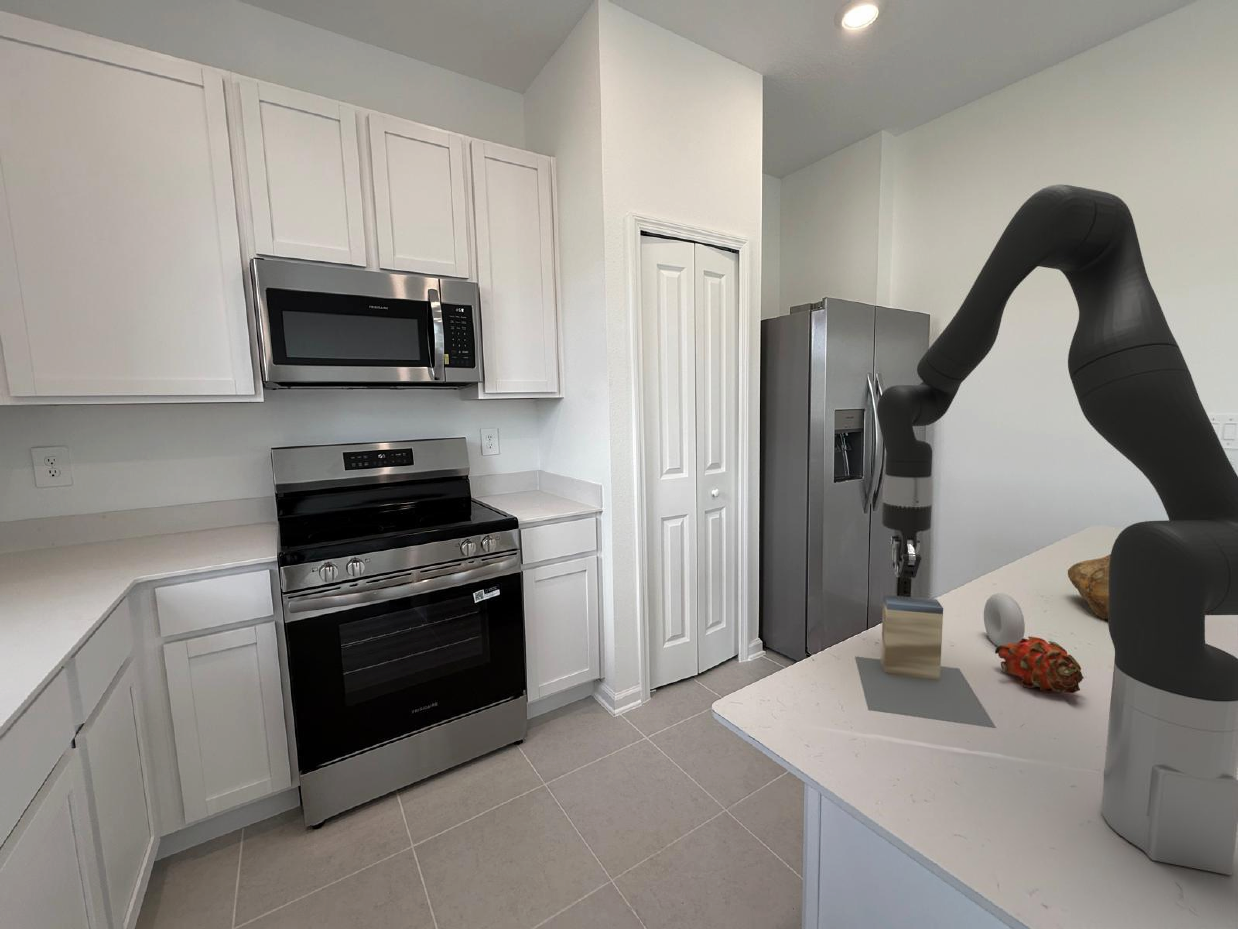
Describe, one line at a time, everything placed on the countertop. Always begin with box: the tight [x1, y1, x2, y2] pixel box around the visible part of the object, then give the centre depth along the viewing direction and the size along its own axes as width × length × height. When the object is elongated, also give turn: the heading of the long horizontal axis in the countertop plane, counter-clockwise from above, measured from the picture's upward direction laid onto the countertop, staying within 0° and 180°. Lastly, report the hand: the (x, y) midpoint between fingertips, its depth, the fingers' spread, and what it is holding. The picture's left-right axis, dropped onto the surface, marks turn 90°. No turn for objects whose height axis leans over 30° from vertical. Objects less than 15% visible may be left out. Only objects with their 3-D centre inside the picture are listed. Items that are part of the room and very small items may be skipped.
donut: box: [983, 592, 1026, 648], centre depth 97 cm, size 10×3×10 cm, turn 168°
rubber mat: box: [854, 656, 997, 729], centre depth 83 cm, size 17×16×1 cm
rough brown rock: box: [1067, 553, 1111, 621], centre depth 112 cm, size 23×17×15 cm
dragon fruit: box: [992, 636, 1085, 694], centre depth 84 cm, size 8×8×12 cm
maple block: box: [880, 594, 944, 680], centre depth 88 cm, size 4×8×12 cm, turn 72°
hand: (902, 596), depth 94 cm, fingers closed
